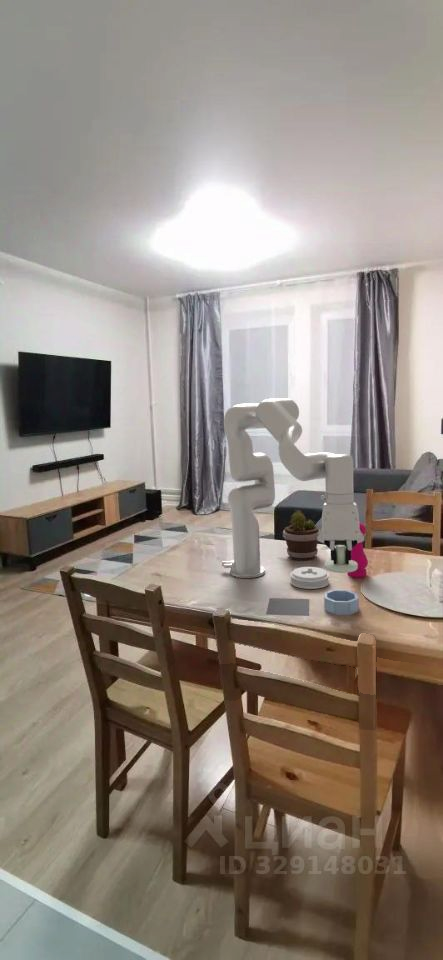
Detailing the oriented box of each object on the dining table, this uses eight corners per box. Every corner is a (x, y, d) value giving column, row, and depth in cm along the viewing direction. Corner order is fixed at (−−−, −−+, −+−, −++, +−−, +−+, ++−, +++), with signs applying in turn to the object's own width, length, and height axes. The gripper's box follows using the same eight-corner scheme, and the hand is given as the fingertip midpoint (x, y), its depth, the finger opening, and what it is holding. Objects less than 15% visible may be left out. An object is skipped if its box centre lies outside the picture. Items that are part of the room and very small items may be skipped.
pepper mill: (368, 578, 163) (368, 520, 160) (346, 577, 165) (345, 520, 162) (366, 571, 170) (366, 515, 167) (345, 571, 172) (344, 515, 169)
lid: (282, 585, 161) (282, 571, 160) (305, 575, 170) (305, 561, 169) (314, 594, 152) (314, 579, 151) (336, 583, 161) (336, 569, 160)
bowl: (324, 615, 136) (324, 601, 135) (324, 602, 145) (323, 589, 144) (359, 616, 134) (359, 602, 134) (356, 603, 143) (356, 590, 143)
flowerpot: (293, 549, 201) (292, 502, 198) (328, 554, 192) (327, 504, 189) (275, 559, 189) (274, 508, 186) (312, 564, 180) (311, 511, 177)
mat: (266, 615, 138) (266, 614, 138) (269, 599, 149) (269, 598, 149) (309, 616, 135) (309, 615, 135) (309, 600, 147) (309, 599, 147)
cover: (325, 572, 134) (325, 550, 133) (324, 562, 143) (323, 542, 142) (359, 572, 132) (358, 550, 132) (355, 562, 141) (355, 541, 140)
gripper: (309, 501, 133) (311, 566, 135) (371, 500, 130) (372, 567, 132) (310, 497, 140) (311, 558, 143) (368, 495, 137) (369, 559, 140)
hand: (340, 562), depth 138 cm, fingers closed on cover, 2 cm apart
